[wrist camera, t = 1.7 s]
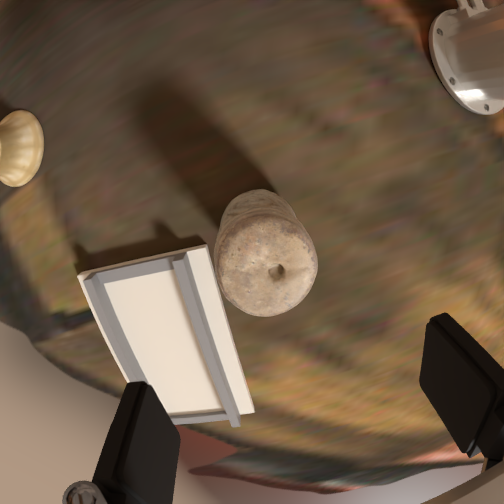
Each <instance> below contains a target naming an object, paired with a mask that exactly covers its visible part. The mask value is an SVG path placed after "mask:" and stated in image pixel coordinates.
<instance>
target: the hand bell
mask: <svg viewBox="0 0 504 504" xmlns="http://www.w3.org/2000/svg"><path fill="white" fill-rule="evenodd" d="M43 151H44V136H43V130H42V127H41V125H40V123H39V121H38V119H37V118H36V117H35V116H34V115H33V114H32V113H30V112H29V111H25V110H18V111H14V112H12V113H10V114H9V115H7V116H6V117H5V118H4V119H3V120H2V121H1V122H0V180H1V181H2V182H3V183H5V184H6V185H9V186H12V187H18V186H22V185H24V184H26V183H27V182H29V181H30V180H31V179H32V178H33V177H34V175H35V174H36V172H37V170H38V168H39V166H40V164H41V161H42V157H43Z"/></svg>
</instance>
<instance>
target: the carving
mask: <svg viewBox="0 0 504 504" xmlns="http://www.w3.org/2000/svg"><path fill="white" fill-rule="evenodd" d="M214 261H215V270H216V275H217V279H218V282H219V285H220V287H221V290H222V292H223V294H224V295H225V297H226V298H227V299H228V300H229V301H230V302H231V303H232V304H233V305H235V306H236V307H238V308H239V309H241V310H242V311H244V312H246V313H248V314H251V315H255V316H264V317H268V316H274V315H278V314H281V313H284V312H286V311H288V310H290V309H292V308H293V307H295V306H296V305H298V304H299V303H300V302H301V301H302V300H303V299H304V298H305V297H306V295H307V294H308V292H309V291H310V289H311V287H312V285H313V283H314V280H315V277H316V274H317V268H318V260H317V255H316V251H315V248H314V245H313V242H312V240H311V238H310V236H309V234H308V233H307V231H306V230H305V228H304V226H303V225H302V224H301V223H300V221H299V220H298V219H297V218H296V215H295V213H294V211H293V209H292V207H291V206H290V205H289V203H288V202H287V201H285V200H284V199H283V198H282V197H280V196H278V195H277V194H276V193H273V192H270V191H268V190H265V189H258V190H251V191H248V192H245V193H242V194H240V195H238V196H237V197H235V198H234V199H233V200H232V201H231V202H230V203H229V204H228V206H227V207H226V209H225V212H224V213H223V216H222V219H221V222H220V228H219V231H218V235H217V238H216V242H215V248H214Z"/></svg>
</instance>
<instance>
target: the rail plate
mask: <svg viewBox="0 0 504 504" xmlns="http://www.w3.org/2000/svg"><path fill="white" fill-rule="evenodd" d="M77 277H78V279H79V282H80V284H81V287H82V289H83V292H84V294H85V296H86V299H87V301H88V304H89V306H90V308H91V310H92V313H93V315H94V317H95V319H96V322H97V324H98V326H99V328H100V330H101V332H102V335H103V337H104V339H105V341H106V343H107V345H108V347H109V349H110V351H111V353H112V355H113V357H114V359H115V361H116V362H117V364H118V366H119V368H120V370H121V372H122V374H123V376H124V377H125V379H126V381H127V383H129V382H136V381H145V382H146V383H147V384H148V385H152V387H153V388H154V390H155V392H156V394H157V396H158V398H159V399H160V401H161V403H162V405H163V407H164V408H165V410H166V412H167V414H168V415H169V417H170V419H171V420H172V422H173V424H174V425H176V424H190V423H201V422H212V421H221V420H229V421H230V423H231V425H232V427H239V426H240V415H241V414H248V413H254V405H253V402H252V399H251V396H250V393H249V389H248V386H247V383H246V380H245V377H244V373H243V370H242V367H241V363H240V360H239V357H238V354H237V350H236V347H235V343H234V340H233V337H232V333H231V330H230V326H229V323H228V319H227V316H226V312H225V309H224V305H223V302H222V298H221V295H220V291H219V288H218V284H217V280H216V277H215V273H214V269H213V266H212V262H211V258H210V254H209V251H208V247H207V244H204V245H200V246H195V247H191V248H186V249H181V250H177V251H172V252H168V253H163V254H159V255H154V256H150V257H145V258H141V259H136V260H132V261H127V262H123V263H118V264H114V265H110V266H105V267H101V268H97V269H92V270H88V271H84V272H81V273H80V274H79V275H78V276H77Z"/></svg>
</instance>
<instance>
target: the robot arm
mask: <svg viewBox="0 0 504 504" xmlns="http://www.w3.org/2000/svg"><path fill="white" fill-rule="evenodd" d="M456 1H457V3H458V6H459V7H458V8H457V9H451V10H447V11H445V12H443V13H441V14H439V15H438V16H437V17H436V18H435V19H434V21H433V22H432V24H431V27H430V31H429V49H430V54H431V58H432V62H433V64H434V67H435V70H436V72H437V74H438V76H439V78H440V80H441V82H442V84H443V85H444V86H445V88H446V89H447V91H448V92H449V93H450V95H451V96H452V97H453V98H454V99H455V100H456V101H457V102H458V103H459V104H460V105H461V106H463V107H464V108H466V109H467V110H469V111H471V112H474V113H476V114H484V115H486V114H494V113H497V112H499V111H500V110H501V109H502V108H503V107H504V4H502V5H499V6H496V7H493V8H490V9H487V8H485V7H484V5H483V2H482V0H469V3H470V6H471V7H469V6H468V3H467V1H466V0H456ZM419 382H420V386H421V388H422V390H423V391H424V393H425V395H426V396H427V398H428V399H429V401H430V402H431V404H432V405H433V407H434V409H435V410H436V412H437V413H438V415H439V416H440V418H441V420H442V421H443V423H444V424H445V426H446V428H447V429H448V431H449V433H450V434H451V436H452V437H453V439H454V441H455V442H456V444H457V446H458V447H459V449H460V451H461V452H462V453H467V455H468V457H469V458H471V457H473V456H475V455H477V454H478V453H480V452H482V454H483V455H484V457H485V458H484V463H483V467H482V471H481V474H480V475H478V476H476V477H474V478H472V479H471V480H469V481H467V482H465V483H463V484H461V485H459V486H457V487H455V488H453V489H451V490H450V491H448V492H445V493H443V494H441V495H439V496H437V497H435V498H433V499H431V500H428V501H426V502H424V503H421V504H504V369H503V368H502V367H501V366H500V365H499V364H498V363H497V362H496V361H495V360H494V359H493V358H492V356H491V355H490V354H489V353H488V352H487V351H486V350H485V349H484V348H483V347H482V346H481V345H480V344H479V343H478V342H477V341H476V340H475V339H474V338H473V337H472V336H471V335H470V334H469V333H468V332H467V331H466V330H465V329H464V328H463V327H462V326H460V325H459V324H458V323H457V322H456V321H455V320H454V319H453V318H452V317H451V316H450V315H449V314H448V313H442V314H439V315H437V316H434V317H432V318H431V319H430V321H429V323H427V325H426V332H425V341H424V350H423V358H422V365H421V372H420V378H419ZM179 448H180V435H179V432H178V431H177V429H176V427H175V426H174V424H173V422H172V420H171V419H170V417H169V415H168V414H167V412H166V410H165V408H164V407H163V405H162V403H161V401H160V399H159V398H158V396H157V394H156V392H155V390H154V388H153V387H152V385H148V384H147V383H146V382H145V381H136V382H129V383H127V385H126V388H125V390H124V393H123V395H122V398H121V401H120V404H119V406H118V409H117V412H116V414H115V417H114V420H113V422H112V424H111V426H110V429H109V432H108V434H107V437H106V440H105V443H104V446H103V449H102V452H101V455H100V458H99V461H98V464H97V467H96V470H95V473H94V476H93V479H92V482H89V481H78V482H75V483H73V484H72V485H70V486H69V487H68V488H67V489H66V491H65V492H64V495H63V500H62V503H63V504H172V501H173V493H174V485H175V478H176V469H177V463H178V455H179Z"/></svg>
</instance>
